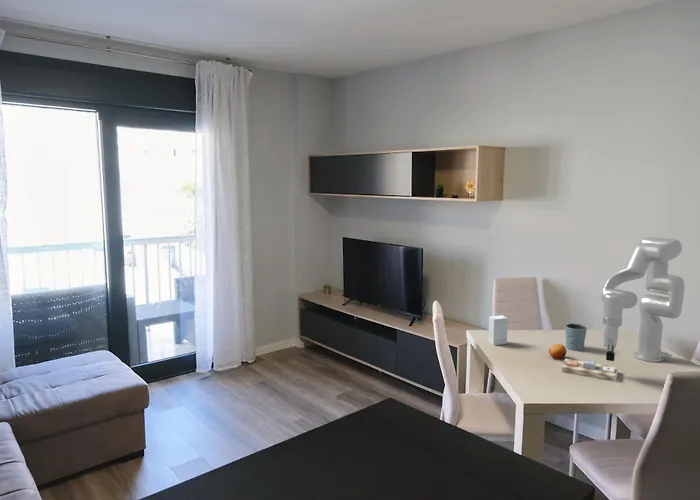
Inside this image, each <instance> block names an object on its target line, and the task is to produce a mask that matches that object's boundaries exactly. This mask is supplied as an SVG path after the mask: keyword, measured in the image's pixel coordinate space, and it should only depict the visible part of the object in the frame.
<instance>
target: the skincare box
mask: <svg viewBox="0 0 700 500" xmlns="http://www.w3.org/2000/svg"><path fill="white" fill-rule="evenodd" d="M508 322H509V321H508V317H506V316H505V315H502V314H500V315H493V316H488V343H490V344H491V345H492V346H499V345H500V346H501V345H507V344H508Z"/></svg>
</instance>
